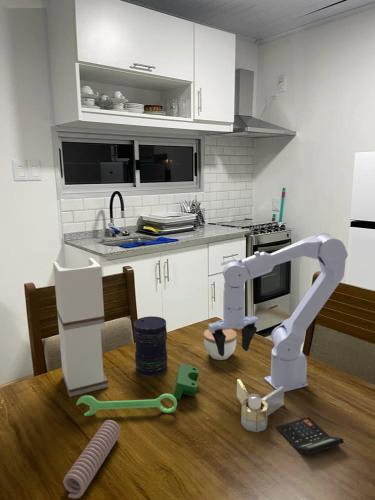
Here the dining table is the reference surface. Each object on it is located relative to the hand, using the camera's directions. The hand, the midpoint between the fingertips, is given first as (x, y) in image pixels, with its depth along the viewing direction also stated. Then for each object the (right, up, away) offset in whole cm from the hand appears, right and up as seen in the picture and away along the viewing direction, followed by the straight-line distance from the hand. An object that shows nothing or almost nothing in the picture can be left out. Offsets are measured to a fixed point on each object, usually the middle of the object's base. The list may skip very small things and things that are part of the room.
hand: (233, 352), depth 108 cm
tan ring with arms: (+5, -12, -11) cm, 17 cm away
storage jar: (-24, -8, +10) cm, 27 cm away
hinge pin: (+3, -13, -16) cm, 21 cm away
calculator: (+14, -15, -21) cm, 29 cm away
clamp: (-13, -10, -2) cm, 17 cm away
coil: (-32, -16, -28) cm, 45 cm away
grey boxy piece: (-42, -10, +3) cm, 44 cm away
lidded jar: (-2, -6, +18) cm, 19 cm away
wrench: (-28, -13, -11) cm, 33 cm away
